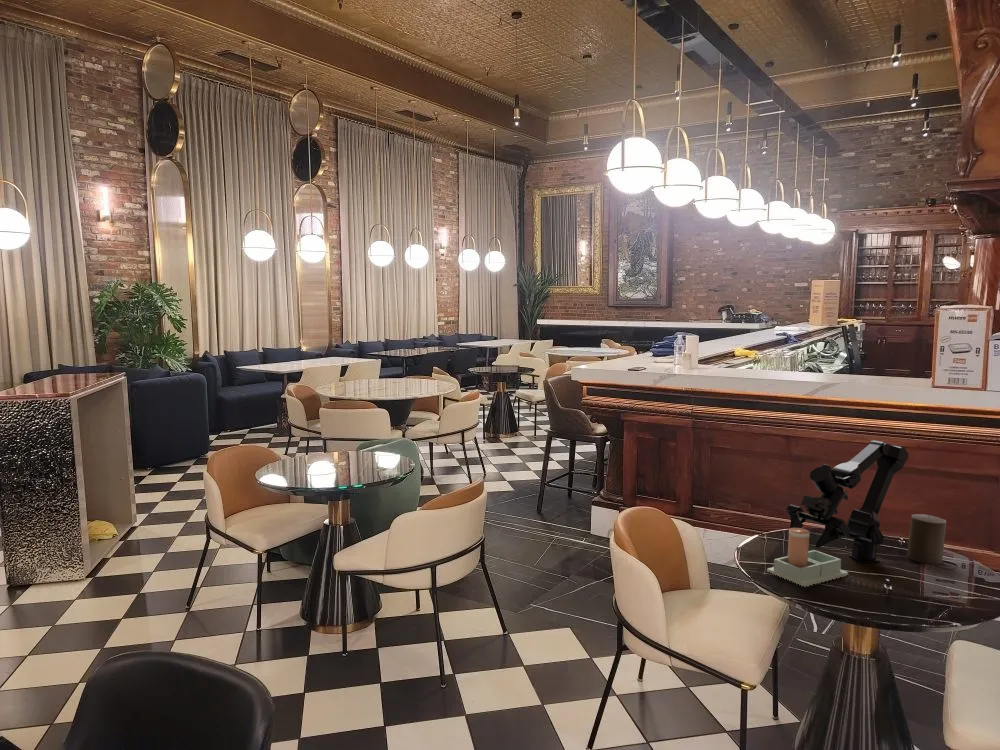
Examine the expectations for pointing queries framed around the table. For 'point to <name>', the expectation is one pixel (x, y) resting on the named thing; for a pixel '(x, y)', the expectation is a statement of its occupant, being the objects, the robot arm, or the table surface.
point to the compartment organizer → (809, 569)
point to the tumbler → (798, 547)
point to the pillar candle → (926, 539)
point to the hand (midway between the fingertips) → (802, 542)
